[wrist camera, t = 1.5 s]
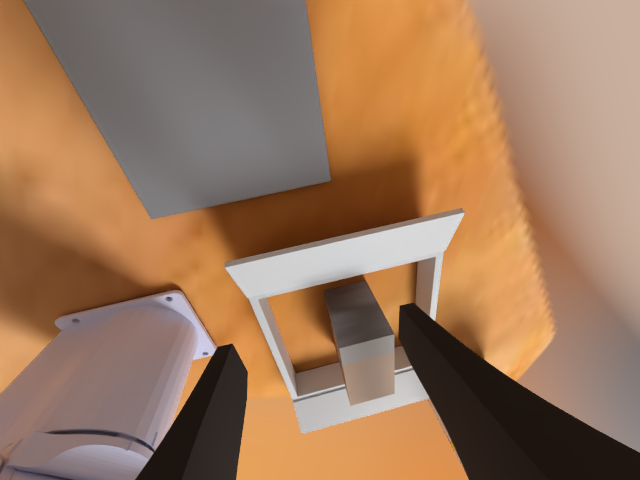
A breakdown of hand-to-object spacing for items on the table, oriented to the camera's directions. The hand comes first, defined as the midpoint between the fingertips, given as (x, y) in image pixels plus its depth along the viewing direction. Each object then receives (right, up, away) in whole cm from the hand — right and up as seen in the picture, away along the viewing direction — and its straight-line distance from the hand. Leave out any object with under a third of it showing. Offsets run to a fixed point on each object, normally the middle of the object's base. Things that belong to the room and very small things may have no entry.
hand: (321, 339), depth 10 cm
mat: (-6, +12, +3) cm, 14 cm away
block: (+3, -3, +13) cm, 14 cm away
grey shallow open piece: (+3, -3, +13) cm, 14 cm away
